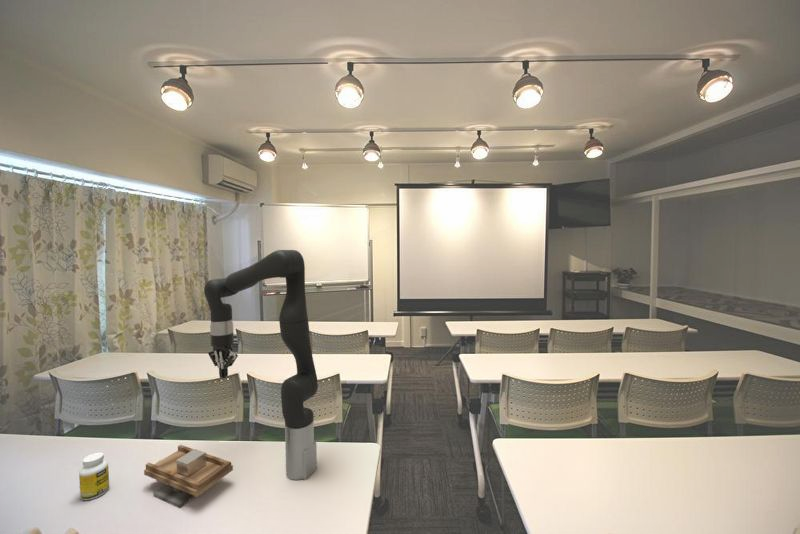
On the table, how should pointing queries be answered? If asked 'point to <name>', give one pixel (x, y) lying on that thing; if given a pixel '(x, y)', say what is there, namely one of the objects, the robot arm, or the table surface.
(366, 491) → the table surface
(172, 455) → the wooden tray
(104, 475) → the pill bottle
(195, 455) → the block
